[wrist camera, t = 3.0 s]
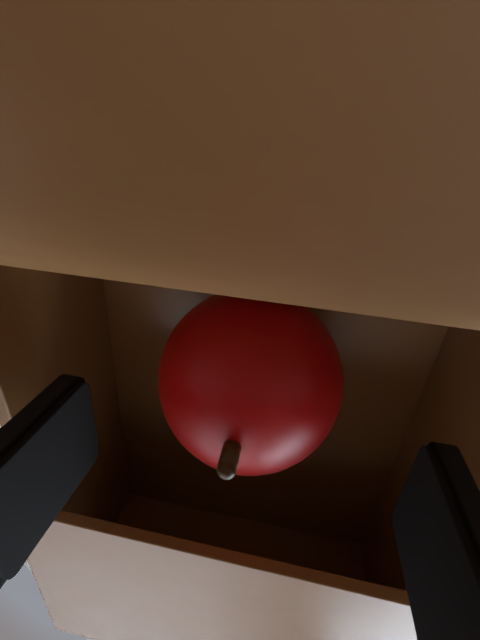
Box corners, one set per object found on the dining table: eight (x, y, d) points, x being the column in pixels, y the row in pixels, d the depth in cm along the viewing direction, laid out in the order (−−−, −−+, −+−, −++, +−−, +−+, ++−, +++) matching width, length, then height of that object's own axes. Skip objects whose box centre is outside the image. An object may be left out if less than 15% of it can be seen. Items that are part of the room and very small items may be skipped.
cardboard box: (88, 197, 14) (-104, 245, 7) (491, 240, 12) (703, 354, 5) (127, 489, 22) (54, 629, 16) (366, 541, 20) (392, 725, 14)
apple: (191, 254, 14) (88, 350, 7) (351, 274, 13) (392, 401, 6) (190, 380, 16) (117, 525, 10) (322, 402, 16) (330, 575, 9)
